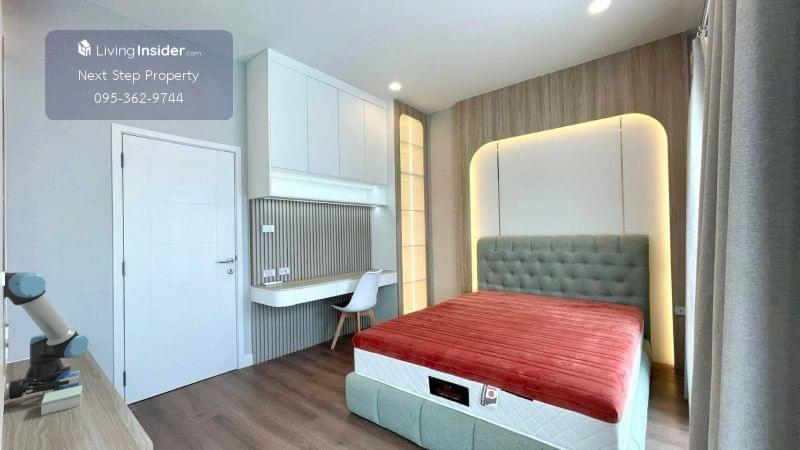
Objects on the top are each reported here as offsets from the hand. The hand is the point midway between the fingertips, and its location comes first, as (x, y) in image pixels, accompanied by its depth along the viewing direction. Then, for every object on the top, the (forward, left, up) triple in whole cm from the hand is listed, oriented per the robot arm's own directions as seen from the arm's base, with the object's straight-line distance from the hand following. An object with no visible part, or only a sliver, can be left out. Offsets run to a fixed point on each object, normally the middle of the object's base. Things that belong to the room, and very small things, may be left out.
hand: (79, 376), depth 165 cm
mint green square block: (+16, -5, -7) cm, 18 cm away
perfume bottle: (0, -5, -7) cm, 8 cm away
